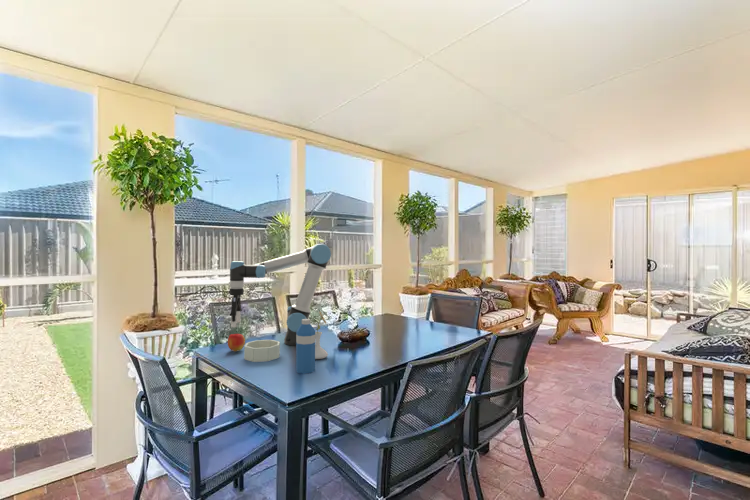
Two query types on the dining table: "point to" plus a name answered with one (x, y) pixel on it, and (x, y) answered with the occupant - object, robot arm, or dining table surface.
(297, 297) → the robot arm
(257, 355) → the white faceted bowl
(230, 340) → the apple
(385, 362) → the dining table surface
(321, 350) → the flower in vase
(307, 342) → the water bottle
